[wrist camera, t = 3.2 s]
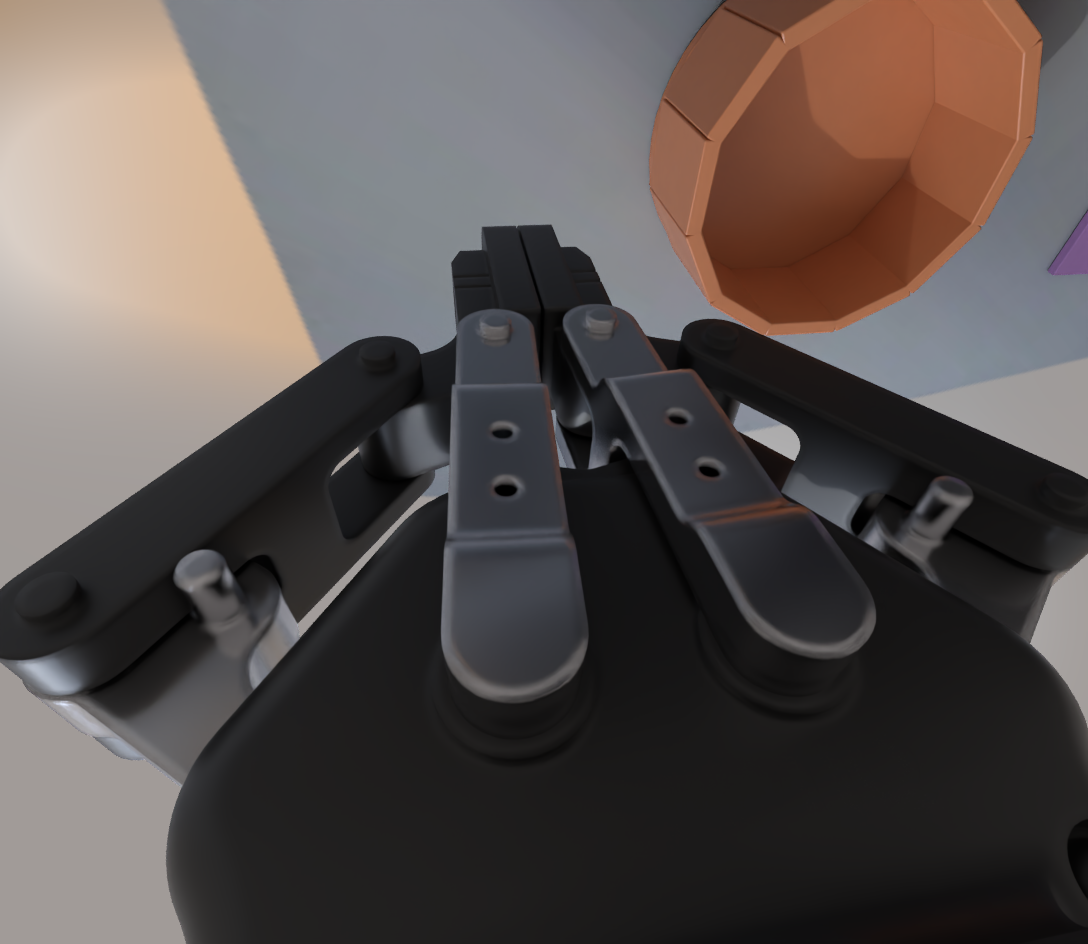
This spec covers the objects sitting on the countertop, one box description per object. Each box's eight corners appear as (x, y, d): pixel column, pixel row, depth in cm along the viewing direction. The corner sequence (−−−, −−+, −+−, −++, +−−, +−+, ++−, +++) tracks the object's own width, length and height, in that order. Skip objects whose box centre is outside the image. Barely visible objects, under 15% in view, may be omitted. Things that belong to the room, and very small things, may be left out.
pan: (748, -523, 12) (873, -661, 9) (1181, -459, 13) (1427, -558, 10) (629, 278, 24) (664, 343, 21) (863, 268, 25) (929, 328, 22)
